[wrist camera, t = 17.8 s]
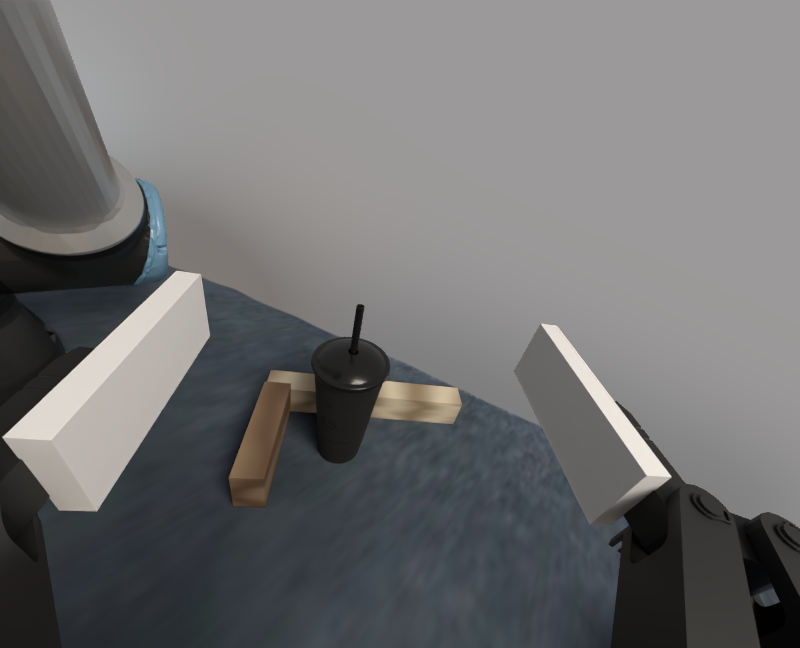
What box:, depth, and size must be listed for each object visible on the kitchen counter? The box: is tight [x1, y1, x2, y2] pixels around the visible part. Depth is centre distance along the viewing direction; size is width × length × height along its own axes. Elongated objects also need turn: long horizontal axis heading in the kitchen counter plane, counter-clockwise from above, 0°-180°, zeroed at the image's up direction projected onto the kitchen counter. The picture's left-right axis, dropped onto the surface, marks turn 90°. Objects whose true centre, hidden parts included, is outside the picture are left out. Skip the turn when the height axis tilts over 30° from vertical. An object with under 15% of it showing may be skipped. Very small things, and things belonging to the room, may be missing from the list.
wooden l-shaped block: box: [229, 370, 462, 507], centre depth 39 cm, size 25×15×5 cm, turn 94°
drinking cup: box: [311, 304, 390, 463], centre depth 34 cm, size 8×8×20 cm
